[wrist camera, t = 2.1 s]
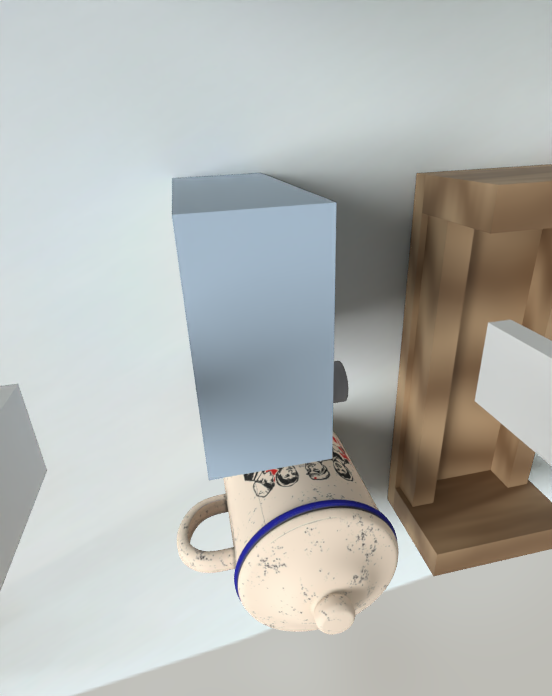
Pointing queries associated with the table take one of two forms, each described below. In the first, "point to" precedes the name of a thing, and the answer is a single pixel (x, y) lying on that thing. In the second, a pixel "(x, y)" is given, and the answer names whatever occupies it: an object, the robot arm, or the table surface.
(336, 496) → the teacup with lid
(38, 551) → the table surface
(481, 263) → the track
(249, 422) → the blue box with knob
